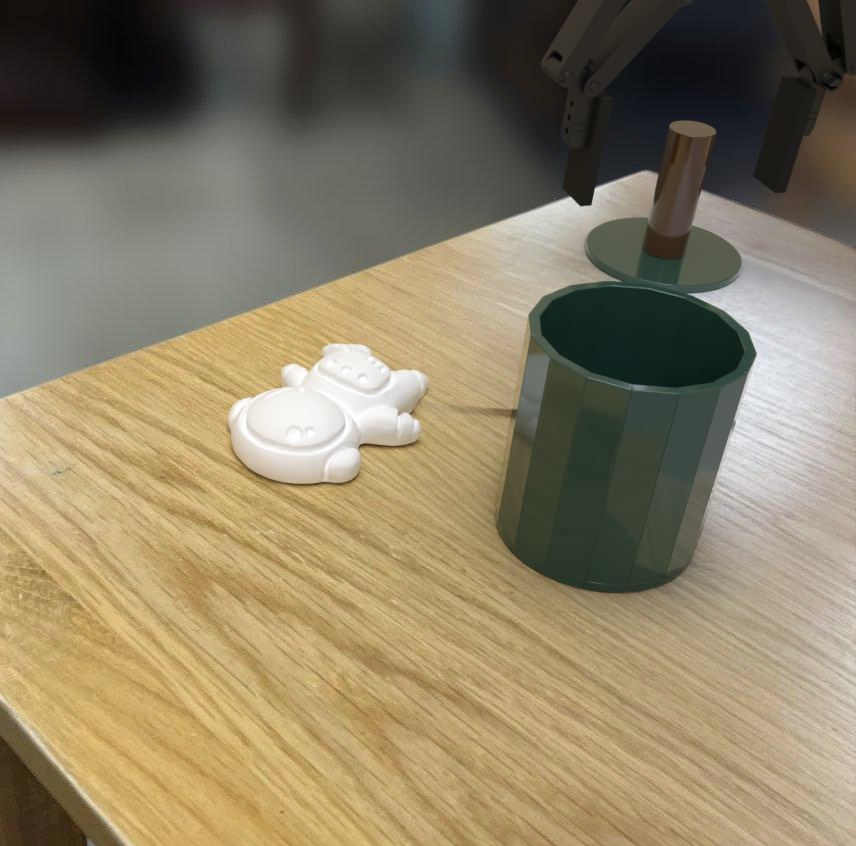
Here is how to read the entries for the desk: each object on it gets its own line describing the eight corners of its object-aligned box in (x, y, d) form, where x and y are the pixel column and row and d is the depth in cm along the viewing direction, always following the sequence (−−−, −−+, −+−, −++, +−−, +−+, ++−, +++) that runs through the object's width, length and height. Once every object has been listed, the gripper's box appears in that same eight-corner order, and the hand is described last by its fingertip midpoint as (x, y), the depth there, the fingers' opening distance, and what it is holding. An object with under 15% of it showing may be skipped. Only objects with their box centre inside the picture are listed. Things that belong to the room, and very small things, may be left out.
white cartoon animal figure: (465, 416, 65) (472, 367, 63) (306, 508, 58) (309, 456, 57) (347, 352, 70) (350, 305, 68) (186, 431, 63) (185, 380, 61)
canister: (679, 478, 62) (732, 290, 55) (710, 601, 55) (776, 401, 48) (492, 462, 62) (524, 273, 56) (498, 583, 55) (535, 382, 48)
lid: (723, 238, 84) (759, 106, 79) (751, 307, 77) (793, 166, 71) (577, 226, 85) (602, 94, 79) (590, 294, 77) (619, 153, 71)
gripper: (927, -205, 70) (812, 157, 83) (523, -214, 64) (469, 177, 77) (1018, -181, 64) (879, 203, 78) (584, -188, 58) (514, 229, 72)
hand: (674, 191), depth 77 cm, fingers open, 13 cm apart
